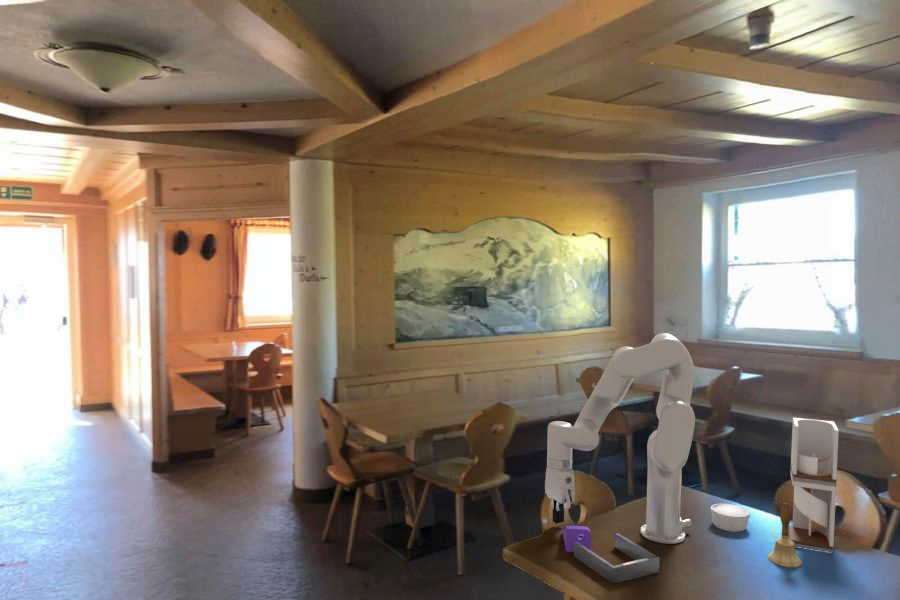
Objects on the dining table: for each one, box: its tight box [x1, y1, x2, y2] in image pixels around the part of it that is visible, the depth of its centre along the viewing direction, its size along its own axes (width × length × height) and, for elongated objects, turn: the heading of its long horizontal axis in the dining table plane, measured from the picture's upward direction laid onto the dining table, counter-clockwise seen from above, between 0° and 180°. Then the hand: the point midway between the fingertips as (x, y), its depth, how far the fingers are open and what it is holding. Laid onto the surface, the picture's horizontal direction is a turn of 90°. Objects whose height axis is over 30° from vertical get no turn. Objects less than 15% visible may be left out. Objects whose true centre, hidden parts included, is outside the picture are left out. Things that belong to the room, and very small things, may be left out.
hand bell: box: [767, 501, 803, 568], centre depth 175 cm, size 8×8×16 cm
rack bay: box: [573, 532, 660, 584], centre depth 172 cm, size 15×16×4 cm
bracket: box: [562, 525, 592, 553], centre depth 185 cm, size 12×7×7 cm, turn 175°
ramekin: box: [710, 503, 751, 533], centre depth 199 cm, size 11×11×5 cm
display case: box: [788, 417, 840, 553], centre depth 186 cm, size 11×11×35 cm
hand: (558, 521), depth 197 cm, fingers closed
